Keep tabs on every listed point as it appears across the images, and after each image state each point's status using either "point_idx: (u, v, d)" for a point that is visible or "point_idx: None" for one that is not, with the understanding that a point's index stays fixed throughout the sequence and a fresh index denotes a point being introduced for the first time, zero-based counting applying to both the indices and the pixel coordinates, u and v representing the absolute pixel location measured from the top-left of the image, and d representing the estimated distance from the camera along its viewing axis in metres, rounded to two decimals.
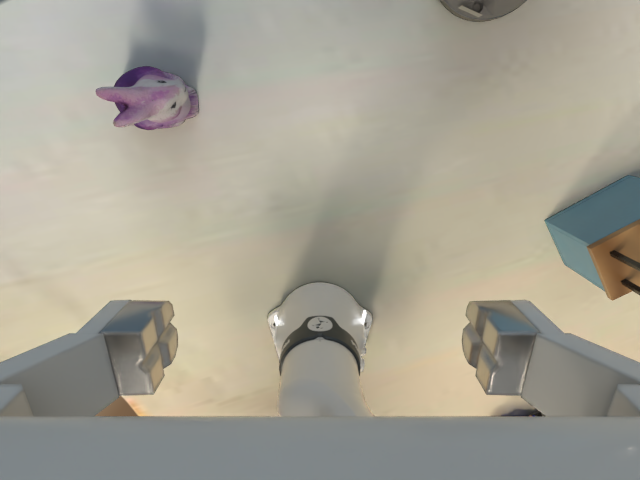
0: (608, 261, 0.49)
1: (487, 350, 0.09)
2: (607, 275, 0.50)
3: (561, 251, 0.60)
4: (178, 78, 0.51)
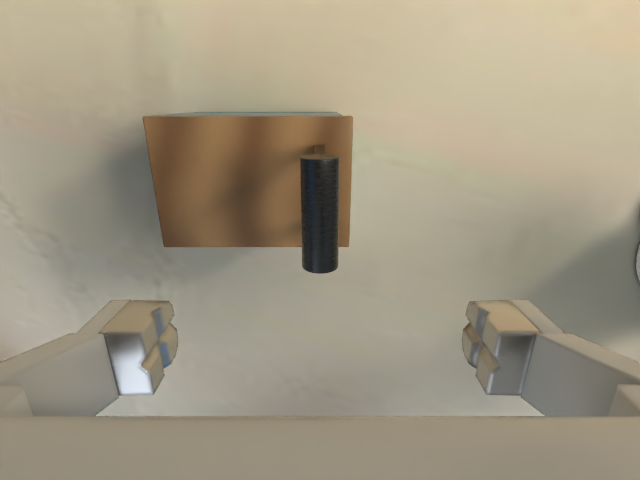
0: None
1: (487, 350, 0.09)
2: (342, 180, 0.26)
3: None
4: None
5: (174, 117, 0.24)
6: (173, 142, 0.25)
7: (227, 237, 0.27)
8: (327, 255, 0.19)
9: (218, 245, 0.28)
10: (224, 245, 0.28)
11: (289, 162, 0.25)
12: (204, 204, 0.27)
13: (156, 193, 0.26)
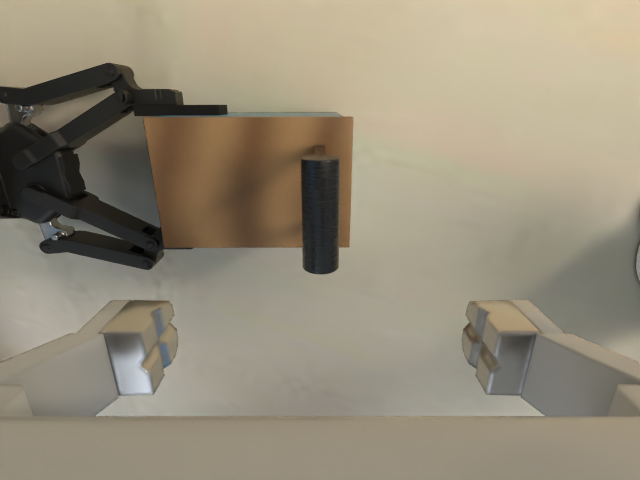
0: None
1: (487, 350, 0.09)
2: (342, 180, 0.26)
3: None
4: None
5: (174, 118, 0.24)
6: (174, 143, 0.25)
7: (228, 238, 0.27)
8: (328, 256, 0.19)
9: (218, 246, 0.28)
10: (224, 246, 0.28)
11: (289, 163, 0.25)
12: (204, 205, 0.27)
13: (156, 194, 0.26)
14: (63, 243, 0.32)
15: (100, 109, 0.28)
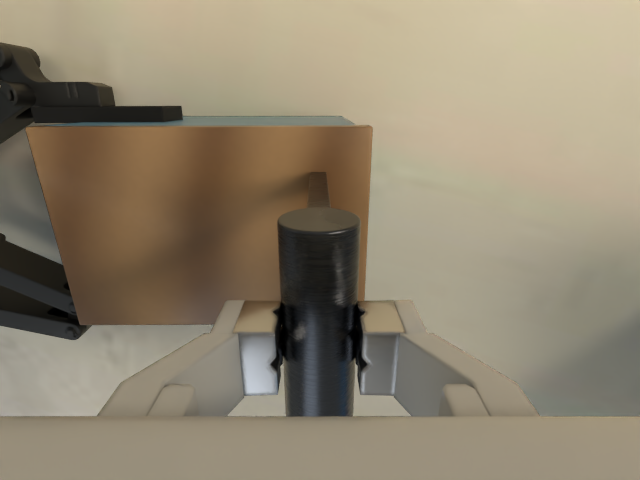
0: None
1: None
2: None
3: None
4: None
5: (77, 128, 0.15)
6: (80, 168, 0.15)
7: (176, 311, 0.18)
8: (334, 408, 0.10)
9: (163, 322, 0.18)
10: (172, 322, 0.18)
11: (269, 199, 0.16)
12: (137, 263, 0.17)
13: (60, 247, 0.17)
14: None
15: None
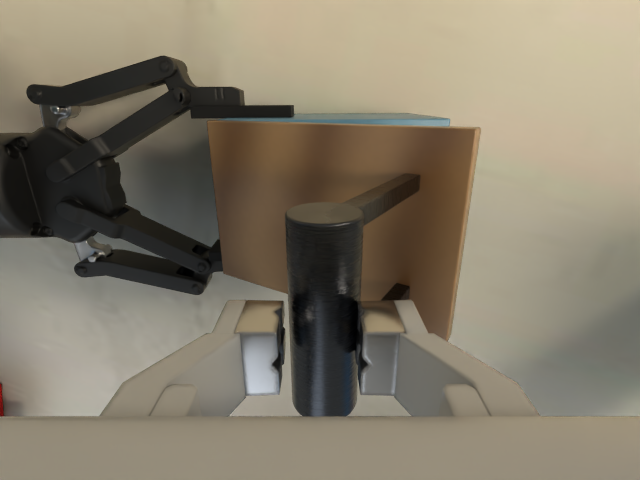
0: (422, 275, 0.16)
1: None
2: (445, 237, 0.15)
3: None
4: None
5: (234, 122, 0.19)
6: (233, 153, 0.20)
7: (283, 281, 0.21)
8: (320, 394, 0.10)
9: (274, 288, 0.21)
10: (280, 289, 0.21)
11: None
12: (261, 234, 0.21)
13: (217, 212, 0.22)
14: (101, 265, 0.28)
15: (151, 111, 0.24)
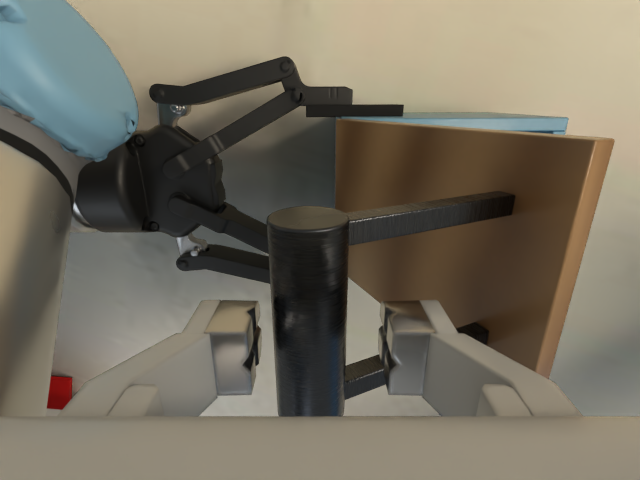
0: (504, 322, 0.13)
1: None
2: (536, 281, 0.11)
3: None
4: None
5: (354, 121, 0.19)
6: (351, 151, 0.20)
7: (375, 287, 0.20)
8: (287, 400, 0.10)
9: (367, 291, 0.21)
10: (372, 294, 0.21)
11: None
12: None
13: (335, 206, 0.23)
14: (203, 259, 0.28)
15: (267, 109, 0.24)
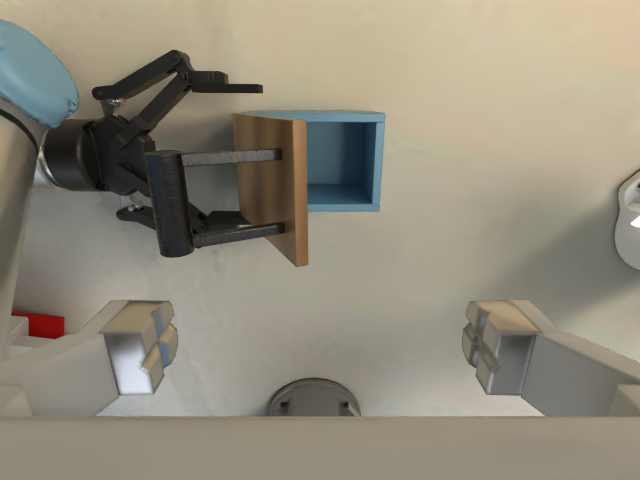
0: (287, 217, 0.25)
1: (487, 350, 0.09)
2: (290, 190, 0.23)
3: None
4: None
5: (238, 114, 0.31)
6: (238, 134, 0.32)
7: (254, 219, 0.32)
8: (160, 240, 0.22)
9: (252, 224, 0.33)
10: (253, 225, 0.32)
11: (269, 162, 0.26)
12: (247, 187, 0.32)
13: None
14: (136, 214, 0.40)
15: (168, 90, 0.36)
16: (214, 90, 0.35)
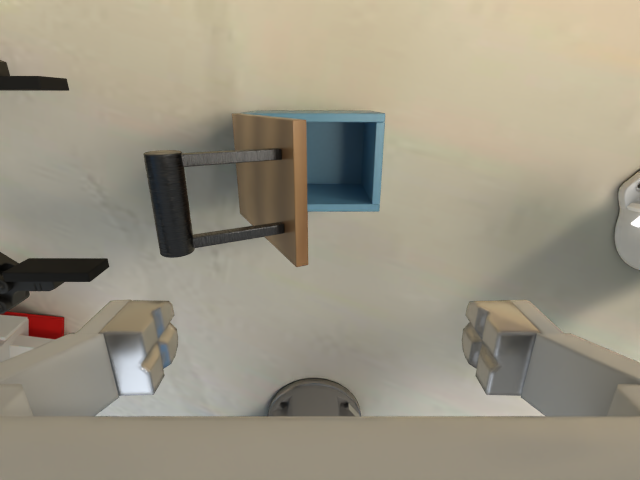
0: (287, 217, 0.25)
1: (487, 350, 0.09)
2: (290, 190, 0.23)
3: None
4: None
5: (238, 114, 0.31)
6: (238, 134, 0.32)
7: (254, 219, 0.32)
8: (160, 240, 0.22)
9: (252, 224, 0.33)
10: (253, 225, 0.32)
11: (269, 162, 0.26)
12: (247, 187, 0.32)
13: None
14: None
15: None
16: None
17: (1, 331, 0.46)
